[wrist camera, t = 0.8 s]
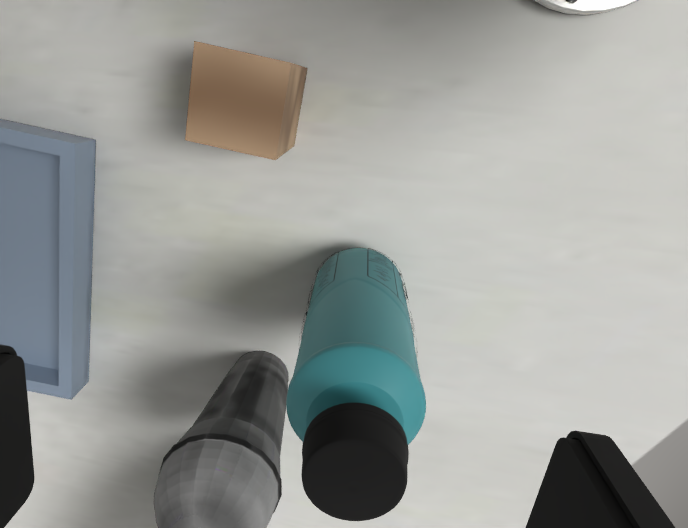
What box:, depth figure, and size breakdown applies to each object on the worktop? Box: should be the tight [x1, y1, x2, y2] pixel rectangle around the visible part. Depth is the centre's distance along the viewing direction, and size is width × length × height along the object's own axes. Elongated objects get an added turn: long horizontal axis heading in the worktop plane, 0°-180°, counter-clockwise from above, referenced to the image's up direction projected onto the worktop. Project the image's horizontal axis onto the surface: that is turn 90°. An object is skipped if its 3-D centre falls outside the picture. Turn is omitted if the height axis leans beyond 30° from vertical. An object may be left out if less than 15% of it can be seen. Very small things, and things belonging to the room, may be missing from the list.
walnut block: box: [185, 41, 307, 160], centre depth 29 cm, size 5×5×7 cm
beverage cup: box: [154, 351, 288, 528], centre depth 30 cm, size 7×7×20 cm
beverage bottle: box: [286, 248, 426, 521], centre depth 27 cm, size 6×7×20 cm
